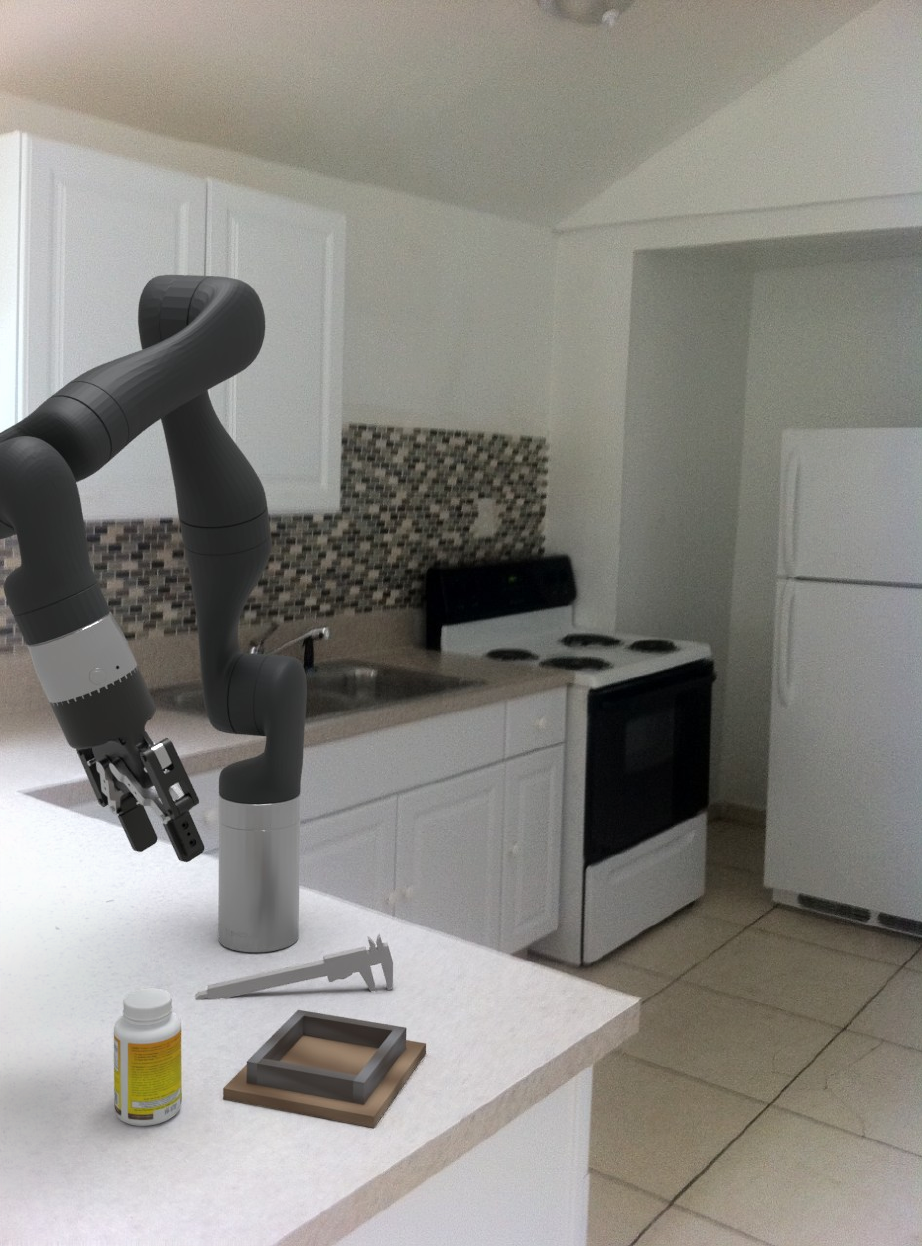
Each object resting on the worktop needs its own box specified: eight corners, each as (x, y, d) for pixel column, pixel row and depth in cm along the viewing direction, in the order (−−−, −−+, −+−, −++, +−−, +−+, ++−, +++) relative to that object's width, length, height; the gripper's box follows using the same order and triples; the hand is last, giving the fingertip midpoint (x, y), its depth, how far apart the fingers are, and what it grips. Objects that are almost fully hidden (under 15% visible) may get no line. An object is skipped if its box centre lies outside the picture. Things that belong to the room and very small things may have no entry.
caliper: (391, 988, 133) (392, 932, 132) (392, 993, 132) (394, 936, 131) (195, 998, 129) (195, 940, 129) (195, 1002, 128) (195, 944, 128)
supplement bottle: (195, 1109, 107) (195, 995, 106) (144, 1136, 103) (143, 1018, 101) (151, 1088, 110) (151, 978, 109) (100, 1114, 106) (99, 999, 105)
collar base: (289, 1030, 122) (290, 1000, 122) (425, 1053, 118) (426, 1023, 118) (223, 1099, 109) (223, 1066, 109) (373, 1127, 105) (374, 1094, 105)
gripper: (170, 657, 99) (247, 837, 103) (95, 660, 110) (167, 822, 113) (87, 699, 94) (171, 886, 98) (18, 698, 105) (95, 866, 109)
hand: (169, 851), depth 106 cm, fingers open, 8 cm apart
